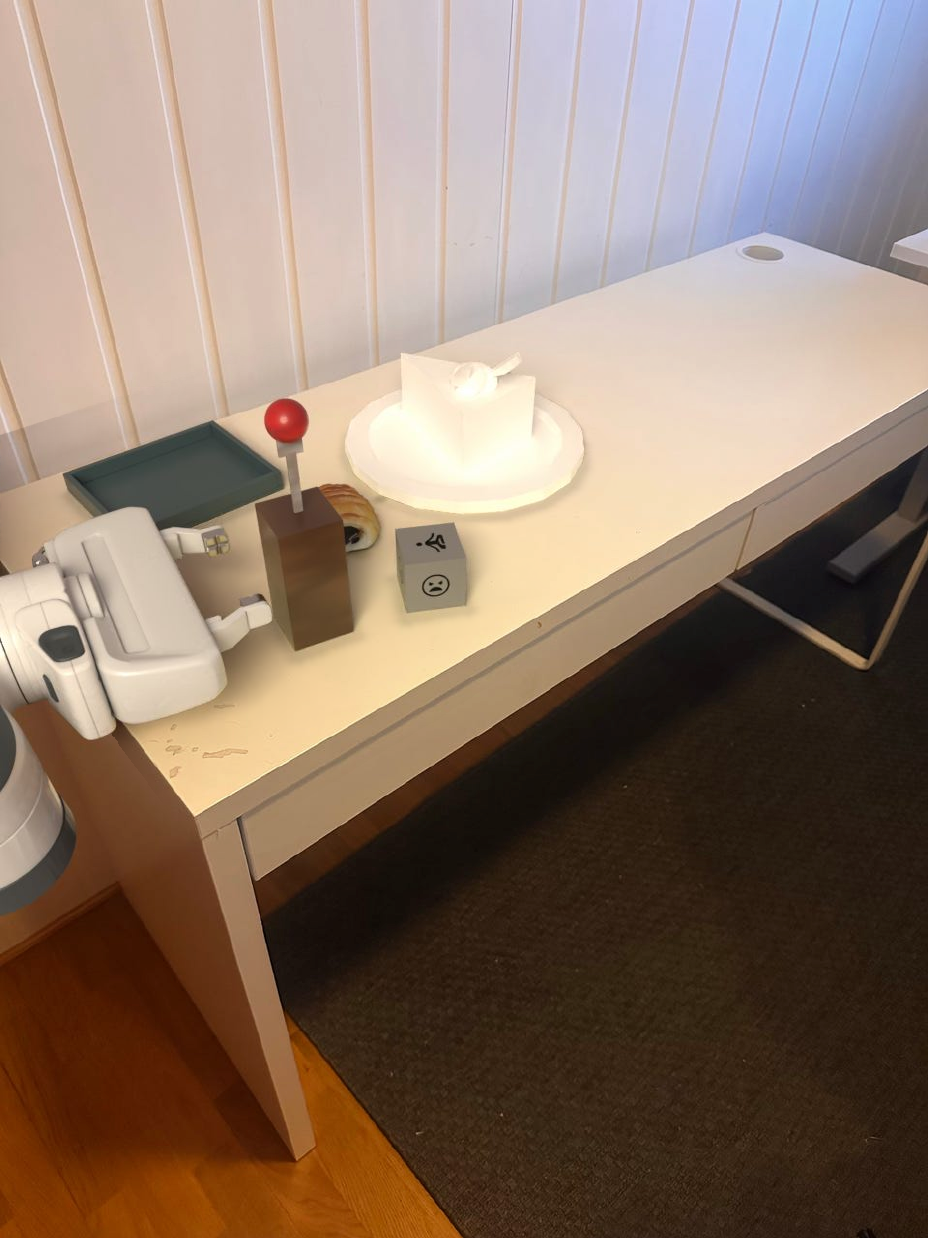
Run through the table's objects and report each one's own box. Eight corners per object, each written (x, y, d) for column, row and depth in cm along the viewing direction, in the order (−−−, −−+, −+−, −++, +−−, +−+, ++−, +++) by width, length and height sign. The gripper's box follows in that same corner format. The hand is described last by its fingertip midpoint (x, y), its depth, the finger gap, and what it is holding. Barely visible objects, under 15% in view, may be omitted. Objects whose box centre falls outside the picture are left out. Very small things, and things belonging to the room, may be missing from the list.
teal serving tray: (129, 553, 80) (123, 535, 78) (67, 490, 87) (62, 473, 86) (284, 488, 88) (281, 471, 86) (215, 436, 95) (212, 419, 94)
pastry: (296, 504, 86) (292, 470, 83) (366, 495, 87) (364, 461, 85) (311, 562, 79) (307, 527, 76) (386, 551, 80) (384, 516, 78)
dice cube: (465, 605, 75) (466, 557, 72) (406, 612, 74) (404, 565, 71) (453, 569, 78) (454, 522, 75) (397, 575, 78) (395, 528, 74)
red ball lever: (295, 651, 70) (260, 425, 57) (273, 614, 74) (235, 393, 60) (353, 631, 72) (333, 408, 59) (329, 596, 75) (305, 377, 62)
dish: (629, 443, 95) (644, 342, 88) (472, 545, 81) (475, 435, 74) (458, 371, 107) (459, 277, 100) (296, 449, 93) (284, 346, 86)
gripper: (39, 581, 70) (211, 532, 76) (96, 759, 57) (300, 685, 62) (14, 514, 66) (197, 468, 71) (69, 690, 53) (290, 617, 58)
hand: (246, 570), depth 67 cm, fingers open, 8 cm apart
